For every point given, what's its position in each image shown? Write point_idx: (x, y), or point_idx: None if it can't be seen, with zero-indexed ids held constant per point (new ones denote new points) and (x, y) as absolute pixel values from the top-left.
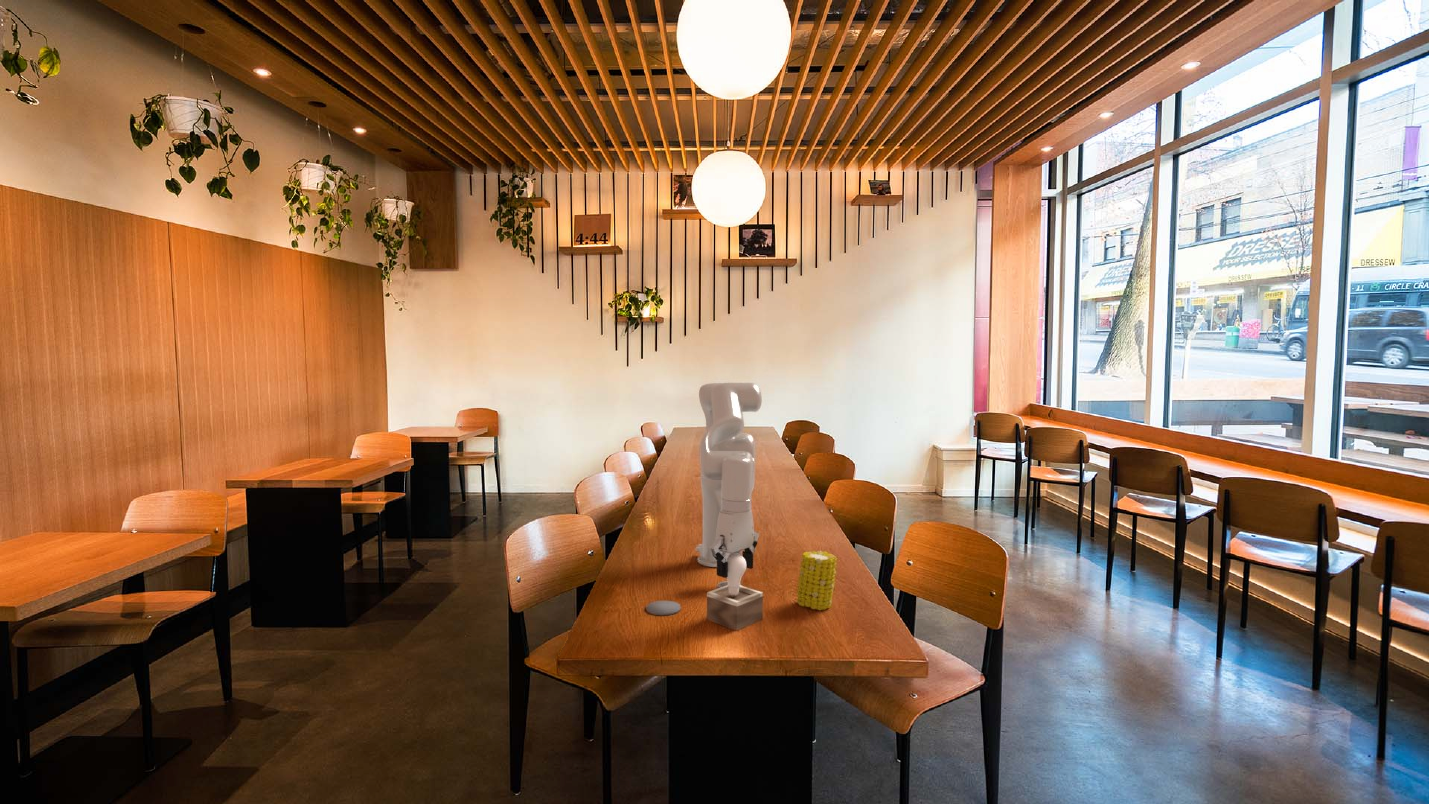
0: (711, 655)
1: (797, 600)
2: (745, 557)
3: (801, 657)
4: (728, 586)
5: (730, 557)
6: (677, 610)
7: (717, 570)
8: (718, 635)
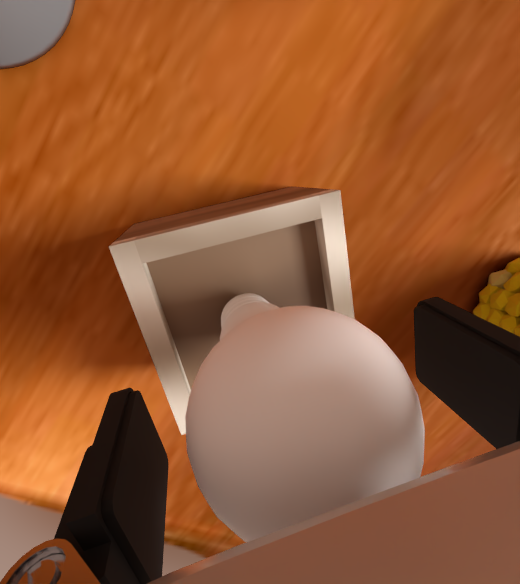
0: (7, 478)
1: (497, 277)
2: (477, 374)
3: (236, 542)
4: (281, 225)
5: (258, 535)
6: (26, 58)
7: (84, 461)
8: (103, 368)
